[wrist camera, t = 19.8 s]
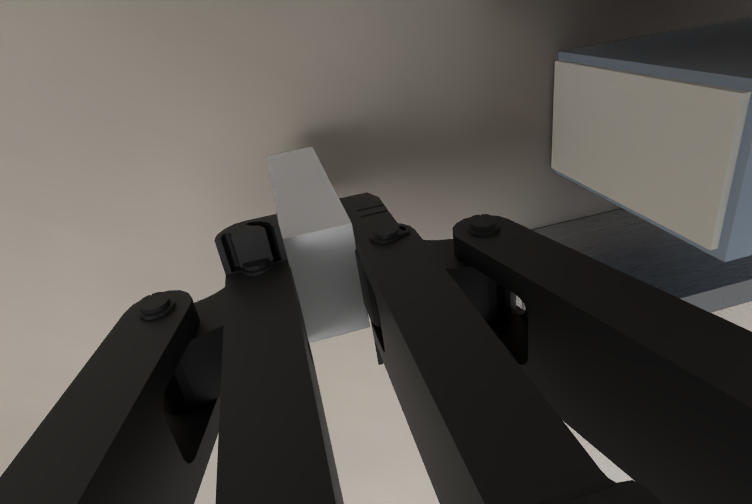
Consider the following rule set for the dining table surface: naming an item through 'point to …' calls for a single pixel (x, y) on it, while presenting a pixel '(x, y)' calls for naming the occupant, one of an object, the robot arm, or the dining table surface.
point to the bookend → (657, 258)
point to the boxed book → (664, 130)
